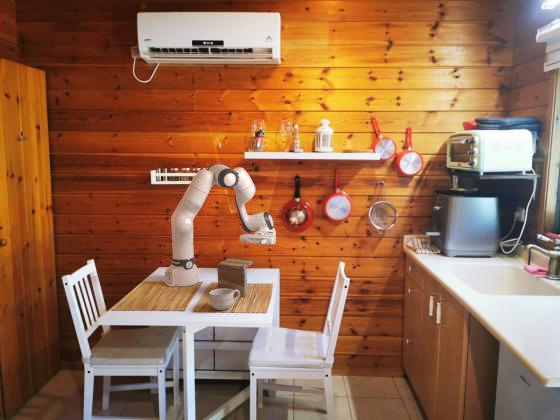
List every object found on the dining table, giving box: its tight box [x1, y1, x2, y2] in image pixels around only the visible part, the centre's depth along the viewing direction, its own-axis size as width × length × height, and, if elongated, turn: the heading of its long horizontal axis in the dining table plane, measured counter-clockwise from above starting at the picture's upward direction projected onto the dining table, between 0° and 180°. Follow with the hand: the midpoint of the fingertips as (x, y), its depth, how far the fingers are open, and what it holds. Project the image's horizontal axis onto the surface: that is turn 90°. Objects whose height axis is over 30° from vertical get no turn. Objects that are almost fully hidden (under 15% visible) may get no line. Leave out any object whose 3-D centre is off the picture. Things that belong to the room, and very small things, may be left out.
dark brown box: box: [216, 258, 254, 298], centre depth 222 cm, size 12×14×16 cm
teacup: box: [208, 288, 240, 311], centre depth 201 cm, size 14×11×8 cm
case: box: [245, 269, 248, 288], centre depth 226 cm, size 14×4×9 cm, turn 162°
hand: (252, 241), depth 243 cm, fingers open, 8 cm apart
